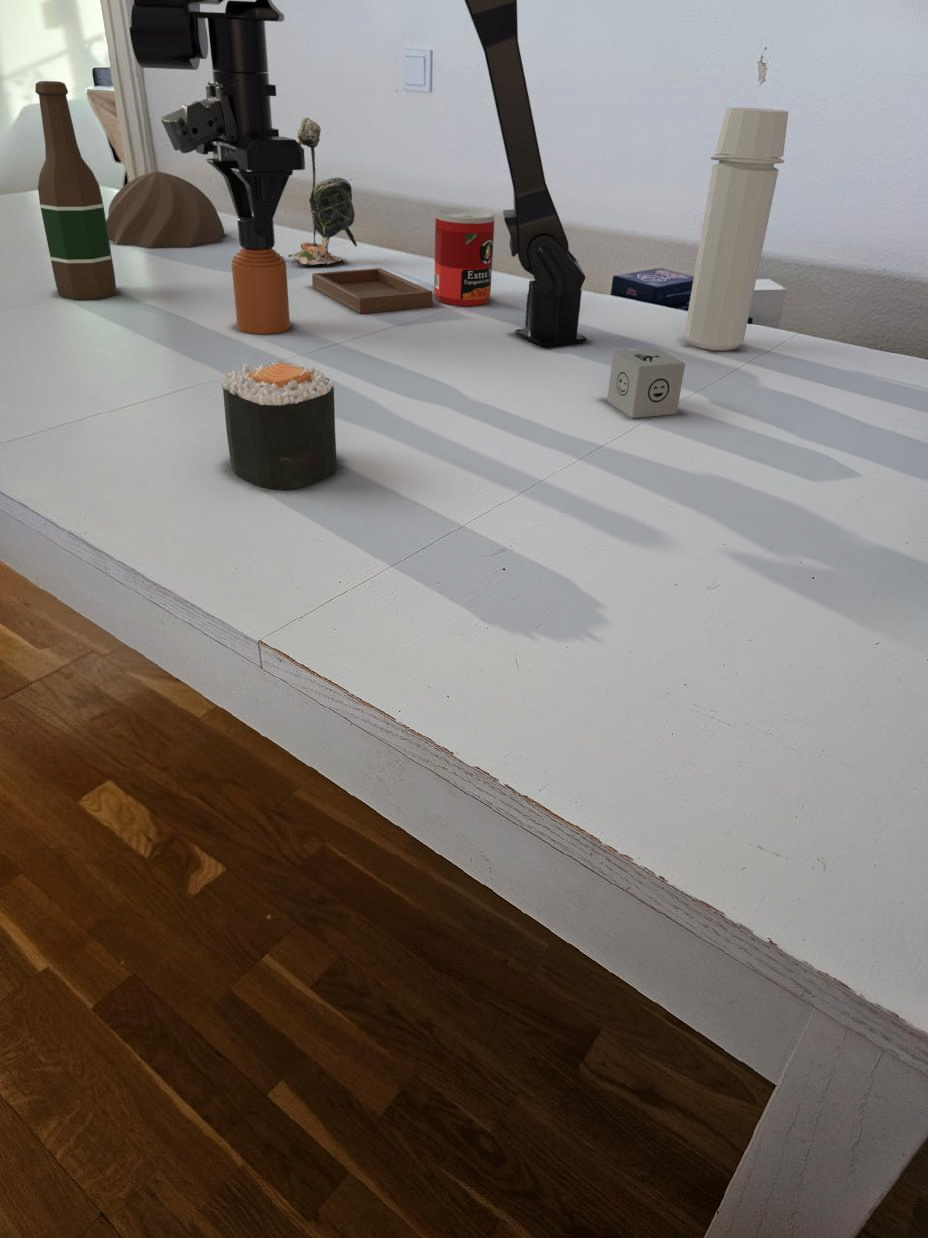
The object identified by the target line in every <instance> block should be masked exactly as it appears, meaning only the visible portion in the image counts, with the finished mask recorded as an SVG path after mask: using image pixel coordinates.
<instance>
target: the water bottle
mask: <svg viewBox="0 0 928 1238" xmlns="http://www.w3.org/2000/svg"><path fill="white" fill-rule="evenodd" d="M788 118H789V111H788V110H783V109H773V108H761V107H760V108H758V107H732V106H731V107H726V108H725V112H724V116H723V120H722V124H721V128H720V132H719V135H718V138H717V139H718V140H717V143H716V147H715V151H714V152H715V154H712V155H711V156H710V157H709V158H710V160H713V161H718V162H717V163H715V164H712V166H711V167H712V168H711V172H710V173H711V174H710V179H709V185H708V191H707V197H706V203H705V209H704V213H703V214H704V215H703V220H702V227H701V231H700V238H699V244H698V249H697V257H696V261H695V266H694V267H695V268H694V274H693V280H692V286H691V292H690V298H689V303H688V310H687V316H686V322H685V327H684V332H683V333H684V334H683V336H684V339H685V340H686V342H688V344H689V345H691V346H693V347H695V348H699V349H703V350H708V351H719V352H720V351H721V352H722V351H723V352H724V351H725V352H726V351H731V350H734V349H738V348H739V347H740V346H741V345H742V344H743V342H744V341H745V336H746V331H747V327H748V321H749V317H750V312H751V307H752V303H753V302H752V301H753V297H754V292H755V288H756V282H757V277H758V272H759V268H760V263H761V259H762V253H763V248H764V243H765V239H766V235H767V229H768V224H769V220H770V215H771V214H770V213H771V209H772V204H773V199H774V194H775V191H776V189H775V188H776V184H777V179H778V175H779V168H777V167H775V164H784V163H785V160H784V159H782V157H784V152H785V144H786V136H787V127H788V120H789V119H788Z"/></svg>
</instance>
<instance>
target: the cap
mask: <svg viewBox="0 0 928 1238" xmlns="http://www.w3.org/2000/svg"><path fill="white" fill-rule="evenodd" d="M237 231H238V232H237V233H238V241H239V246H240V247H242V249H243V248H249V249H267V248H272V249H273V248H274V247H275V244H276V239H275V227H274V219H273V220H272V223H271V226H270V228H269V231H268V234H267V236H257V234H256V230H255V226H254V222H253V218H252V213H244V214H239V215H238V217H237Z"/></svg>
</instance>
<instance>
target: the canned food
mask: <svg viewBox="0 0 928 1238" xmlns="http://www.w3.org/2000/svg"><path fill="white" fill-rule="evenodd" d="M494 237H495V214H494V213H492V212H490V211H486V210H482V209H476V208H475V209H474V208H443V209H439V210H437V211H436V213H435V227H434V281H433V283H434V284H433V285H434V286H433V290H434V291H433V292H434V297H435V299H436V300H437V301H438V302H440V303H442V304H446V305H450V306H451V305H452V306H458V307H475V306H481V305H485V304H486V303H488V302H489V300H490V297H491V290H492V271H493V258H494V257H493V256H494V255H493V254H494V241H495V239H494Z"/></svg>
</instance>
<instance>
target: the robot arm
mask: <svg viewBox="0 0 928 1238" xmlns="http://www.w3.org/2000/svg"><path fill="white" fill-rule="evenodd" d="M224 1H225V0H133V4H132V7H131V12H130V13H131V15H130V25H131V26H129V37H130V41H131V47H132V50H133V51H132V52H133V54H134V57H135V59H136V61H137V64H138V65H139V66H140V67H141V68H142V69H143V68H144V69H145V68H146V69H163V70H164V69H165V70H186V71H187V70H188V71H189V70H191V71H197V70H198V69H199V66H200V61H201V60H206V59H207V58H208V56H209V49H210V59H211V68H212V69H211V70H212V78H213V79H212V80H213V81H207V85H205V92H206V93H205V94H206V98H204V99H202V100H199V101H198V100H193V101H192V103H191V104H188V105H185V104H184V105H182V106H181V108H180V109H177V110H175V111H172V112H170V113H167V114H166V115H164V116H162V117H161V118H160V122H161V123H162V125H163V127H164V130H165V132H166V135H167V136H168V140H169V141H170V143H171V145H172V148H173V150H174V151H180V153H181V154H188V153H191V152H193V151H195V153H198V154H200V155H209V153H212V158H205V160H206V162H207V163H208V164H209V165H211V166H212V167H213V168H214V169H215V170H216V171H217V172H218V173H219V174H220V175H221V176H222V177H223V180H224V181H225V185H226V187H227V189H228V193H229V196H230V199H231V203H232V205H233V207H234V210H235V213H236V216H237V218H238V215H239V214H244V213H252V218H253V222H254V226H255V230H256V234H257V236H267V234H268V231H269V228H270V226H271V223H272V220H273V221H274V217H275V215H276V212H277V208H278V205H279V204H280V200H281V198H282V195H283V193H284V191H285V188H286V186H287V183H288V181H289V178H290V177H291V176H292V175H293V173H294V171H304V170H306V162H305V161H306V160H305V159H306V158H305V149H304V148H303V146H302V145H300V144H299V143H298V142H299V141H298V140H296V139H294V138H290V137H286V136H280V132H279V130H280V129H278V128H275V127H273V118H272V106H271V97H277V86H276V84H271V83H270V78H269V76H270V75H269V61H268V49H267V34H266V22H273V23H274V22H276V23H277V22H278V23H281V22H284V21H285V15H284V13H283V12H282V11H280V10H279V9H278V7H277V6H276V5H275V4H274V3H273V1H272V0H255V1H252V0H227V2H226V4H225V9H224V12H214V11H210V12H209V11H201V8H200V7H201V5H211V6H212V5H213V6H217V5H221V3H223V2H224ZM463 1H464V4H465V6H466V9H467V11H468V14H469V17H470V20H471V22H472V24H473V27H474V29H475V32H476V35H477V38H478V40H479V42H480V45H481V47H482V51H483V53H484V58H485V63H486V67H487V72H488V77H489V82H490V88H491V91H492V95H493V100H494V105H495V110H496V114H497V119H498V125H499V128H500V133H501V139H502V143H503V147H504V151H505V157H506V162H507V165H508V171H509V175H510V180H511V184H512V191H513V192H512V196H513V208H512V209H504V210H502V216H503V221H504V223H505V226H506V228H507V230H508V233H509V236H510V238H509V249H510V254H511V257H513V258H515V257H516V256H517V257H518V260H519V263H520V265H521V267H522V268H523V270H524V271H526V272H527V273H529V275H532V276H533V279H534V280H529V282H528V292H527V295H526V307H525V320H524V321H525V322H524V326H525V328H518V329H514V334H515V335H516V336H519V337H520V338H523V339H525V340H528V341H529V342H532V343H534V344H536V345H538V346H540V347H542V348H543V347H544V348H548V347H557V346H564V345H571V344H578V343H585V342H587V341H588V337H587V336H585V335H583V334H581V333H578V330H579V320H580V311H581V302H582V301H581V300H582V294H583V293H582V291H583V290H582V287H583V285H584V283H585V280H586V275H585V273H584V271H583V269H582V267H581V265H580V263H579V261H578V260H577V258H576V257H575V256H574V255H573V254H572V252H571V251H570V247H569V246H570V245H569V240H568V237H567V235H566V232H565V230H564V227H563V224H562V222H561V219H560V216H559V214H558V211H557V208H556V206H555V203H554V201H553V198H552V196H551V193H550V191H549V188H548V184H547V182H546V178H545V172H544V167H543V162H542V157H541V151H540V147H539V142H538V137H537V131H536V126H535V121H534V116H533V111H532V106H531V100H530V96H529V90H528V85H527V80H526V76H525V70H524V64H523V60H522V55H521V49H520V44H519V33H518V31H519V30H518V25H519V24H518V0H463ZM206 20H207V24H206ZM207 28H208V31H207ZM208 37H209V38H208Z"/></svg>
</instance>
